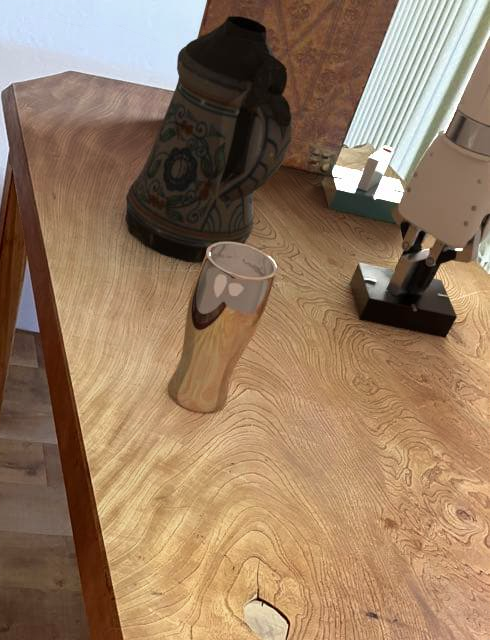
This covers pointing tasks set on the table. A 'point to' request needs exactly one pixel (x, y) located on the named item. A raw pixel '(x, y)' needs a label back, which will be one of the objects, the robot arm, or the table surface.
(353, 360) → the table surface
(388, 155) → the cold tap
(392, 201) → the base
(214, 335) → the beer glass
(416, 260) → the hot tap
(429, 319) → the base
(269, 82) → the beer stein
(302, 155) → the book
